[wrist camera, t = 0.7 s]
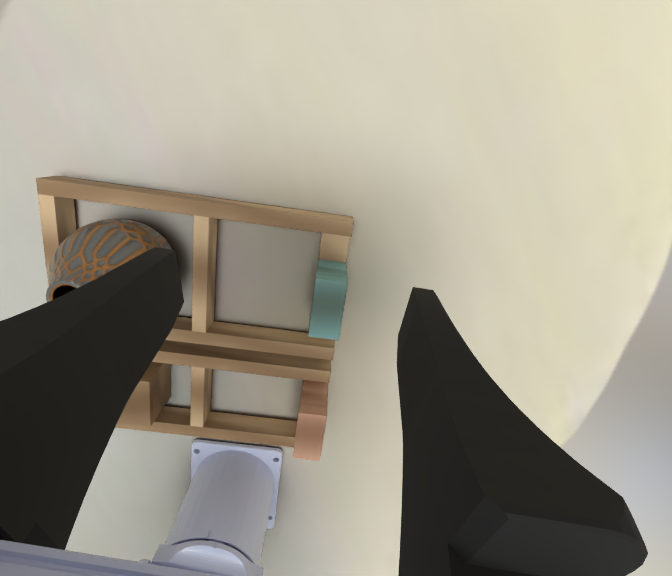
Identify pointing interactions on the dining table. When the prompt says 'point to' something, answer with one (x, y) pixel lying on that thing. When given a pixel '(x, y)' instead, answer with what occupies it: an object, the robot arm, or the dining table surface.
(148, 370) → the walnut cube
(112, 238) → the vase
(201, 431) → the frame
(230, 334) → the tray
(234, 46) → the dining table surface
